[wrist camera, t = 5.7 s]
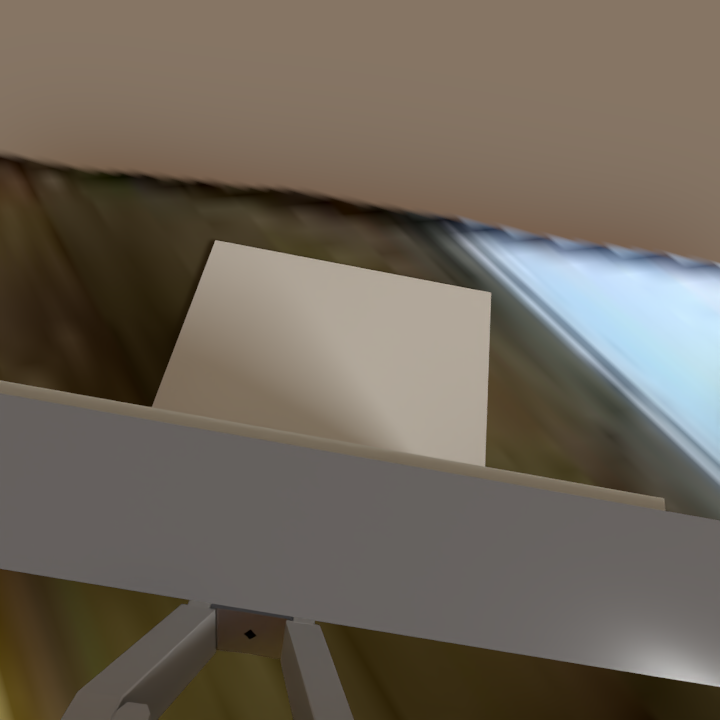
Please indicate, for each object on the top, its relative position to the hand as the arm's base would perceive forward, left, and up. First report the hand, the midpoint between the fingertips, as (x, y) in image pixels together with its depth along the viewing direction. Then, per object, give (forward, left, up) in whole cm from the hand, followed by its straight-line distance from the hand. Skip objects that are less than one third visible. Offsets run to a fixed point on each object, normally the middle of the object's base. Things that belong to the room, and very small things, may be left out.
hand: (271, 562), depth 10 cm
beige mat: (+6, 0, -6) cm, 8 cm away
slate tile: (+2, 0, -5) cm, 6 cm away
